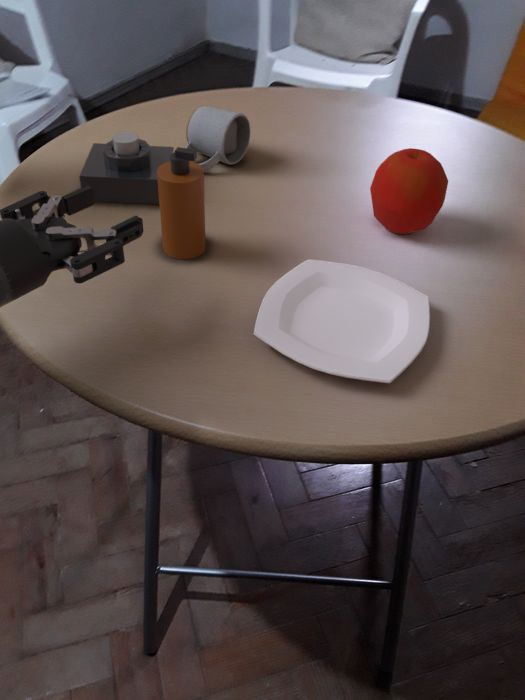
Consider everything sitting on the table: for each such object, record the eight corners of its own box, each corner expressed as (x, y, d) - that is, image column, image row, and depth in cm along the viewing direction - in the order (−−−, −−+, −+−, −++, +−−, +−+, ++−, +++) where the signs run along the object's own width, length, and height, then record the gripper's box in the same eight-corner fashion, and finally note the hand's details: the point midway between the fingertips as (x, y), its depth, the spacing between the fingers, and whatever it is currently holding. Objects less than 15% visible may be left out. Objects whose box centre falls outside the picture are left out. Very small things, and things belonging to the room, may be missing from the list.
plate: (231, 350, 69) (231, 337, 68) (298, 259, 82) (300, 247, 81) (398, 412, 64) (402, 399, 63) (442, 304, 77) (447, 292, 76)
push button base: (83, 201, 90) (76, 162, 86) (97, 167, 97) (91, 130, 93) (167, 205, 90) (164, 166, 86) (174, 171, 97) (172, 134, 93)
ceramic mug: (210, 139, 105) (209, 94, 100) (251, 153, 102) (252, 107, 97) (171, 165, 99) (167, 118, 93) (213, 181, 96) (212, 133, 91)
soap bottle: (156, 254, 82) (147, 155, 72) (172, 231, 86) (166, 135, 76) (196, 263, 81) (193, 164, 71) (211, 239, 85) (209, 142, 75)
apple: (442, 247, 86) (465, 170, 78) (368, 243, 86) (384, 165, 78) (429, 207, 93) (449, 133, 85) (361, 204, 93) (375, 129, 85)
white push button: (112, 155, 88) (110, 142, 87) (116, 144, 91) (114, 130, 90) (137, 157, 89) (136, 143, 87) (141, 145, 91) (140, 131, 90)
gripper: (18, 271, 56) (156, 203, 65) (-64, 209, 62) (72, 155, 71) (36, 333, 61) (161, 262, 70) (-42, 270, 68) (82, 212, 77)
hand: (116, 208), depth 71 cm, fingers open, 8 cm apart
